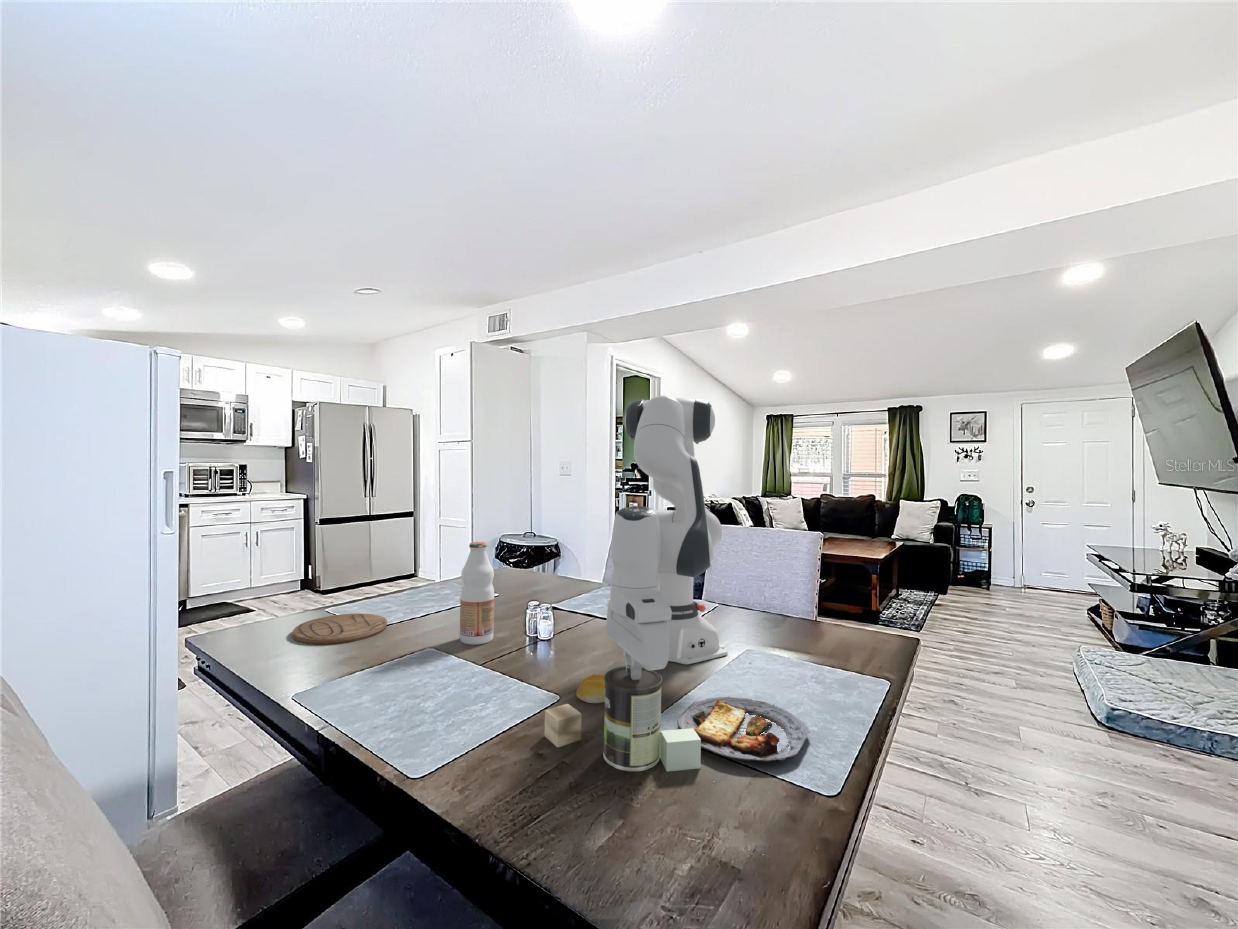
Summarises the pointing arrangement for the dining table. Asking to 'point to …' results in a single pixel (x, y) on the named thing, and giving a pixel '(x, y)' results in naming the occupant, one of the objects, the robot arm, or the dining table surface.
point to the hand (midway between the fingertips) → (633, 676)
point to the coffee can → (632, 720)
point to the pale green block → (680, 749)
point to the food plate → (725, 718)
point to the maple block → (562, 725)
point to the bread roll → (592, 689)
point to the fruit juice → (477, 597)
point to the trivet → (339, 629)
